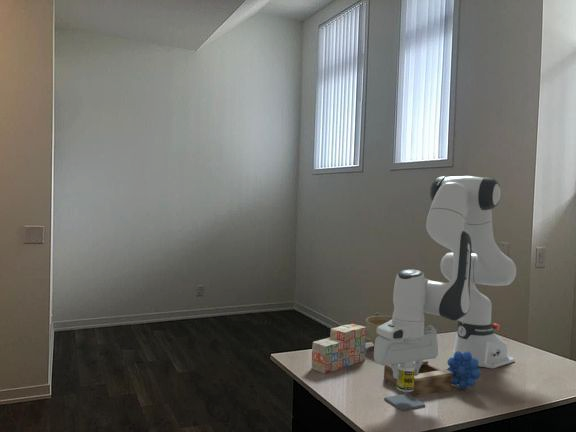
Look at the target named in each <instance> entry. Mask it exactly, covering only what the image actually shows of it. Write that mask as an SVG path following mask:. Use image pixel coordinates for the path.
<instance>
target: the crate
mask: <svg viewBox="0 0 576 432" xmlns="http://www.w3.org/2000/svg"><path fill="white" fill-rule="evenodd" d="M414 364H415V362H414ZM397 368H398V367H397ZM383 371H384V372H383V380H384V381H385V382H386V383H388V384H390V385H392V386H394V387H395V388H397V379H395V378H394V377H393V370H392V368H391V366H390V365H384V369H383ZM452 377H453V373H452V372H450V371H448V370H447V368H446V369H440V368H438V367H437V366H434V365H432V364H430V363H429V361H428V359H426V360H423V361H422V365H421V367H420V369H419V374H418V375H417V376H414V390H413V391H411V392H404V394H408V395H410V396H412V397H414V398H415V397H419V396H427V395H430V394H437V393H443V392H447V391H452V390H453V384H452Z"/></svg>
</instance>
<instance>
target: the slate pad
mask: <svg viewBox="0 0 576 432" xmlns="http://www.w3.org/2000/svg"><path fill="white" fill-rule="evenodd" d="M383 400H384V401H386V402H387V403H389V404H390V405H392V406H393V407H395V408H397V409H398V410H400V411H401V412H404V411H409V410H414V409H415V410H416V409H419V408H425V407H426V404H425V403H424V402H422V401H421V400H418V399H417V398H415V397H412V396H410V395H409V394H407V393H403V394H397V395H396V394H395V395H391V396H385V397H384V399H383Z"/></svg>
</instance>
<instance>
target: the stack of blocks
mask: <svg viewBox="0 0 576 432" xmlns="http://www.w3.org/2000/svg"><path fill="white" fill-rule="evenodd" d="M366 343H367V326H363V325H360V324H355V323H350V324H343V325H339V326H337V327H332V328H330V336H329V337H327V338H323V339H318V340H315V341H313V342H312V347H311V348H312V350H311V369H312V370H314V371H317V372H318V373H323V374H327V373H330V372H335V371H336V370H341V369H343V368H345V367H350V366H352V365H355V364H358V363H361V362H365V361H366Z"/></svg>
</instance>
